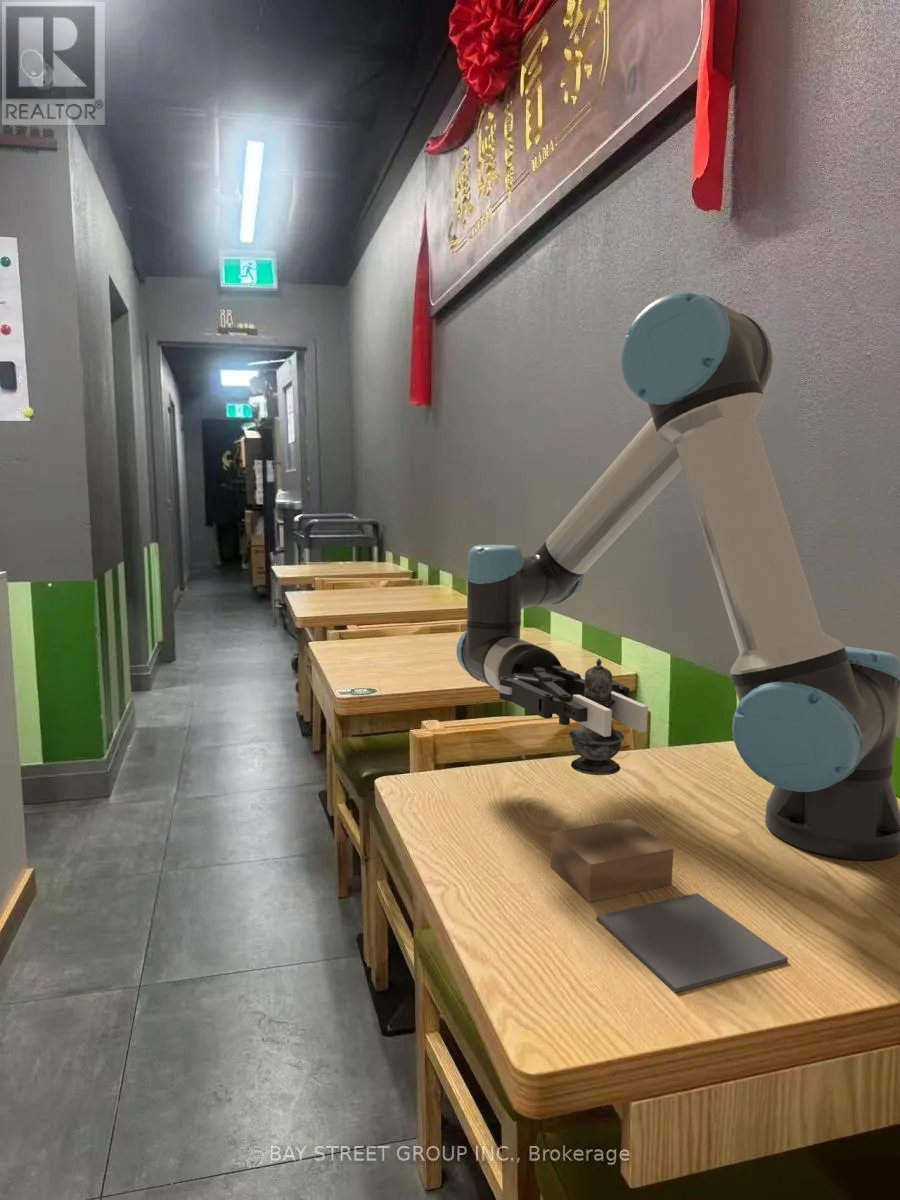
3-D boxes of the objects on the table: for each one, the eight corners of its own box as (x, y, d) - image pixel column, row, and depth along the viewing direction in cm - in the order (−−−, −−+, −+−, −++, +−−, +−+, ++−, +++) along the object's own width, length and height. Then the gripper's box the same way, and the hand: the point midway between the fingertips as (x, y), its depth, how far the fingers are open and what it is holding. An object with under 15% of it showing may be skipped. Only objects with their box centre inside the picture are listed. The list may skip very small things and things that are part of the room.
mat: (697, 896, 80) (697, 893, 80) (787, 962, 69) (787, 957, 69) (596, 919, 76) (596, 915, 76) (675, 992, 65) (675, 988, 65)
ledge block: (550, 866, 86) (551, 832, 86) (627, 852, 90) (629, 819, 89) (589, 902, 79) (590, 864, 78) (671, 884, 82) (673, 848, 82)
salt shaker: (575, 754, 89) (578, 651, 88) (627, 762, 87) (631, 655, 85) (562, 771, 84) (564, 661, 82) (617, 779, 82) (621, 666, 80)
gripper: (579, 694, 105) (692, 748, 83) (463, 706, 99) (552, 766, 77) (581, 639, 103) (695, 678, 82) (464, 647, 98) (554, 692, 76)
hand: (626, 721), depth 79 cm, fingers closed on salt shaker, 4 cm apart
